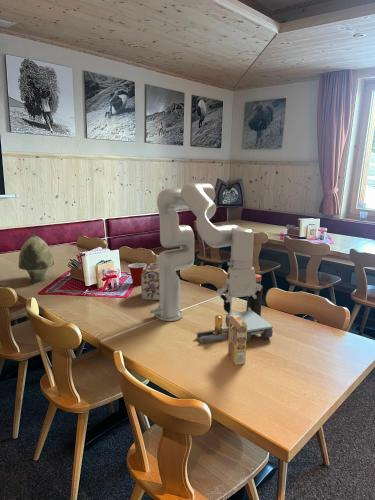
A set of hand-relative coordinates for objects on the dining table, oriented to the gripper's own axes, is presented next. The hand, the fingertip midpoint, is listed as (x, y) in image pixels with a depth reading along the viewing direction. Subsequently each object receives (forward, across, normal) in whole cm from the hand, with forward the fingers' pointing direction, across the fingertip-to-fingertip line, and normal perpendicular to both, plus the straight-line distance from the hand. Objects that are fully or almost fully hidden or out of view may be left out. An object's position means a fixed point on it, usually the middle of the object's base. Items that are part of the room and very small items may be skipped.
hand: (239, 309), depth 132 cm
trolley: (+19, +14, +17) cm, 30 cm away
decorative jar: (+19, -12, +71) cm, 75 cm away
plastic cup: (+19, -16, +93) cm, 97 cm away
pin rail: (+19, -3, +17) cm, 26 cm away
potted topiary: (+18, -71, +118) cm, 139 cm away
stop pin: (+18, +4, +17) cm, 25 cm away
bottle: (+19, +26, +32) cm, 46 cm away
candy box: (+20, 0, 0) cm, 20 cm away
